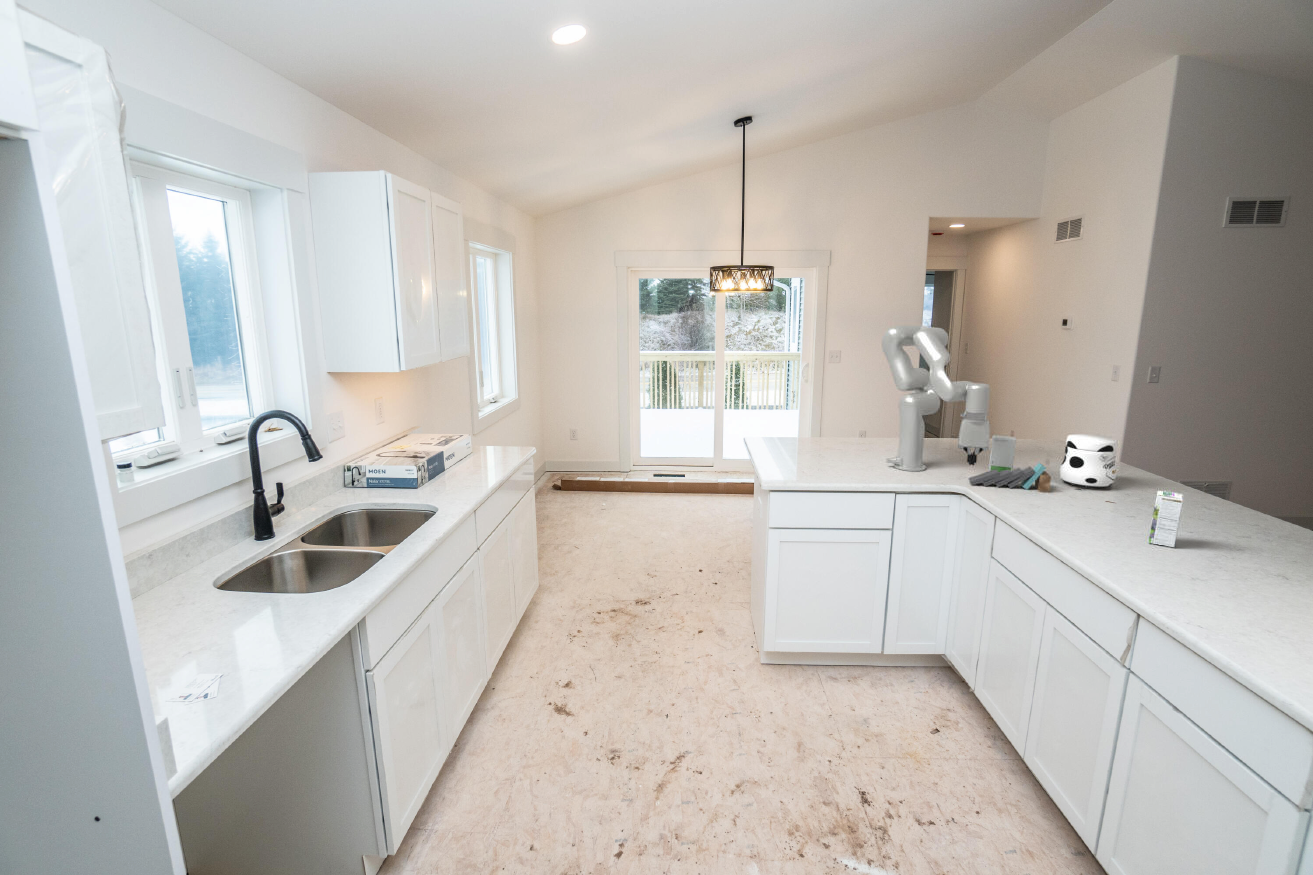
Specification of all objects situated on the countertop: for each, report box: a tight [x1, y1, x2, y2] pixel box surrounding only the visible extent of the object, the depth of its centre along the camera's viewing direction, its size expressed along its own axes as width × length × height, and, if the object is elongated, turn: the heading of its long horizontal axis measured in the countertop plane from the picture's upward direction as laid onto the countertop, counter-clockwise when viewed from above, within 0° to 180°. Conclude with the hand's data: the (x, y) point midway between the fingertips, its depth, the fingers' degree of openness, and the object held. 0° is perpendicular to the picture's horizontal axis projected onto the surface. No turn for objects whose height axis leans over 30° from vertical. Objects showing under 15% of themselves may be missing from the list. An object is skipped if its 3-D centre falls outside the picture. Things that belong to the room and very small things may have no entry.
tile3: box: [994, 467, 1025, 488], centre depth 228 cm, size 2×5×10 cm
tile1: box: [968, 469, 999, 486], centre depth 231 cm, size 2×5×10 cm
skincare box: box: [987, 435, 1017, 472], centre depth 243 cm, size 8×7×16 cm
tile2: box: [982, 469, 1013, 487], centre depth 229 cm, size 2×5×10 cm
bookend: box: [1034, 470, 1052, 494], centre depth 224 cm, size 3×8×6 cm, turn 160°
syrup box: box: [1148, 490, 1184, 548], centre depth 171 cm, size 6×6×14 cm
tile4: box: [1006, 466, 1036, 489], centre depth 227 cm, size 2×5×10 cm
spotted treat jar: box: [1059, 433, 1118, 489], centre depth 228 cm, size 17×17×18 cm
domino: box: [1020, 462, 1047, 490], centre depth 225 cm, size 2×5×10 cm
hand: (971, 464), depth 232 cm, fingers closed
